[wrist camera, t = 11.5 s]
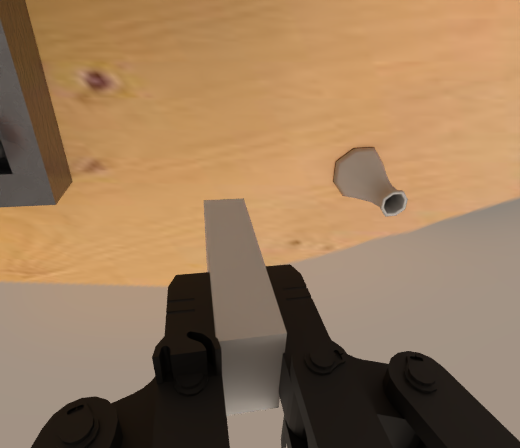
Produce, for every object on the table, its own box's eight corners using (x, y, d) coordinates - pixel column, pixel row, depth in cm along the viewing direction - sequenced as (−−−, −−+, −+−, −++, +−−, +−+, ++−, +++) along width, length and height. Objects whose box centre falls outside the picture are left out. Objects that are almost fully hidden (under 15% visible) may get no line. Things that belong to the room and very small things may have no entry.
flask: (337, 202, 49) (368, 239, 40) (327, 157, 45) (360, 188, 37) (384, 184, 49) (425, 218, 40) (378, 138, 45) (423, 165, 36)
